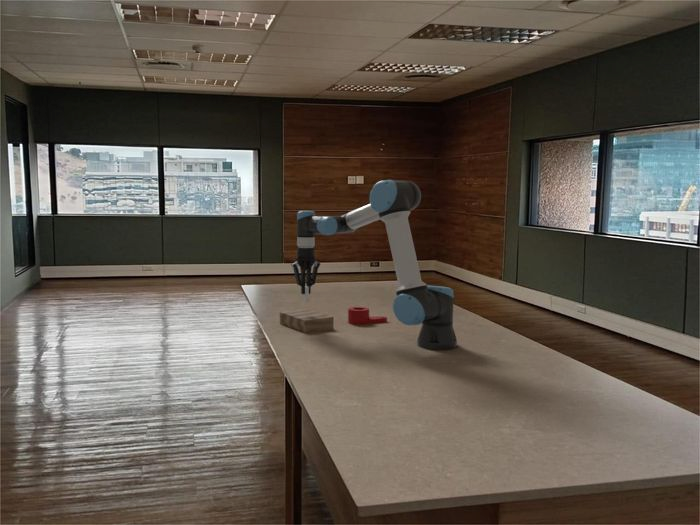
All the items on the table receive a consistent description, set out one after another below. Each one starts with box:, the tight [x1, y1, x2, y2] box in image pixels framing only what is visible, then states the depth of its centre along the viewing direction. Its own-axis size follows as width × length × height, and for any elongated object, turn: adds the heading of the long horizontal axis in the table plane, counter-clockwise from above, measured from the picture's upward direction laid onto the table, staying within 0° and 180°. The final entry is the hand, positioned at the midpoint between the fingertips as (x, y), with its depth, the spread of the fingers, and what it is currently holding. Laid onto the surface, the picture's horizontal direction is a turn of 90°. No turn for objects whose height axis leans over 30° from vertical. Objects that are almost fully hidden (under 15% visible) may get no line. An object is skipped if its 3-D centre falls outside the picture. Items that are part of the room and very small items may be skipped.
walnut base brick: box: [279, 308, 334, 333], centre depth 272 cm, size 22×14×6 cm, turn 34°
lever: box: [347, 306, 388, 326], centre depth 282 cm, size 18×9×7 cm, turn 105°
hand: (305, 301), depth 271 cm, fingers closed
